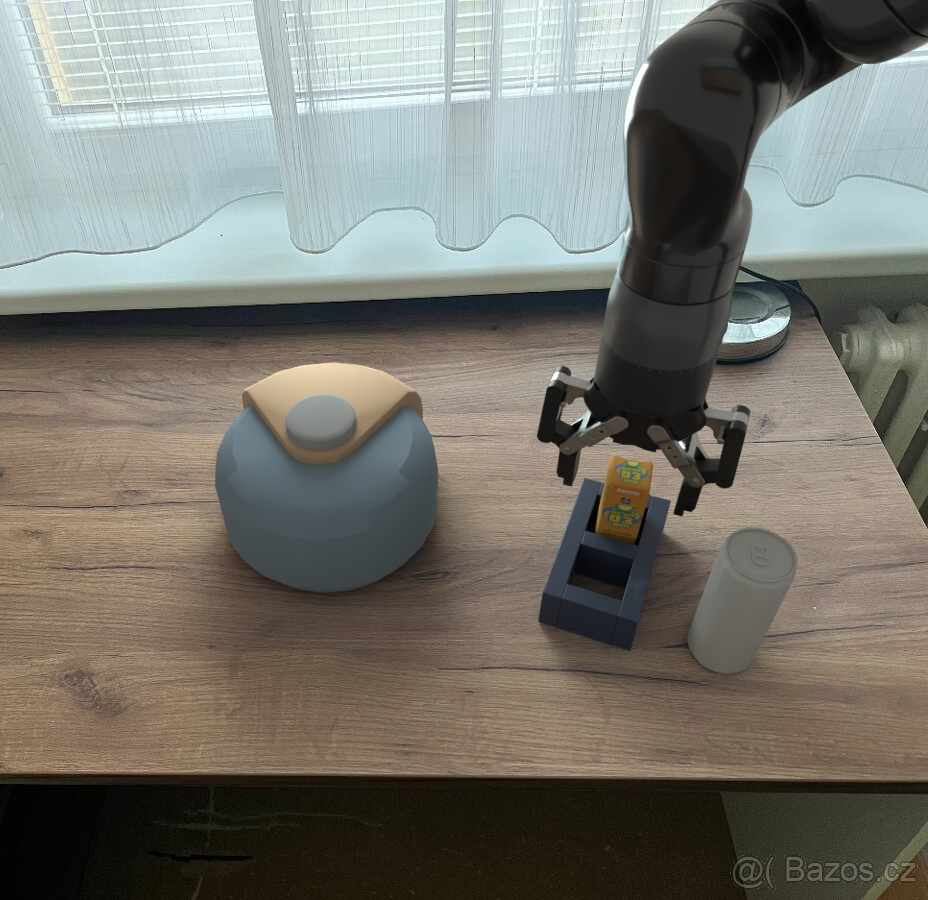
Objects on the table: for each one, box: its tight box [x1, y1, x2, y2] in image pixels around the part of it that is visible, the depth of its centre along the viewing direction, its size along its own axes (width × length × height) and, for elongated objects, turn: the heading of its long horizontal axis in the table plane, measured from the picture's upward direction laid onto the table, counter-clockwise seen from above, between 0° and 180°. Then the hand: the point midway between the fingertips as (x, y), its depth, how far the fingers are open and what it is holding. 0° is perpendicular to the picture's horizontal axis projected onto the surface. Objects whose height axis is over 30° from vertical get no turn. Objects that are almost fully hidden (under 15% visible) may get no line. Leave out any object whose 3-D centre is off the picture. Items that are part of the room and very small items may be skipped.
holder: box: [538, 477, 672, 652], centre depth 71 cm, size 7×13×4 cm, turn 154°
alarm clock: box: [214, 362, 439, 594], centre depth 76 cm, size 19×20×12 cm
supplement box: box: [592, 454, 654, 545], centre depth 71 cm, size 3×3×10 cm
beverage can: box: [686, 527, 799, 675], centre depth 63 cm, size 5×5×12 cm
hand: (623, 493), depth 69 cm, fingers open, 8 cm apart
